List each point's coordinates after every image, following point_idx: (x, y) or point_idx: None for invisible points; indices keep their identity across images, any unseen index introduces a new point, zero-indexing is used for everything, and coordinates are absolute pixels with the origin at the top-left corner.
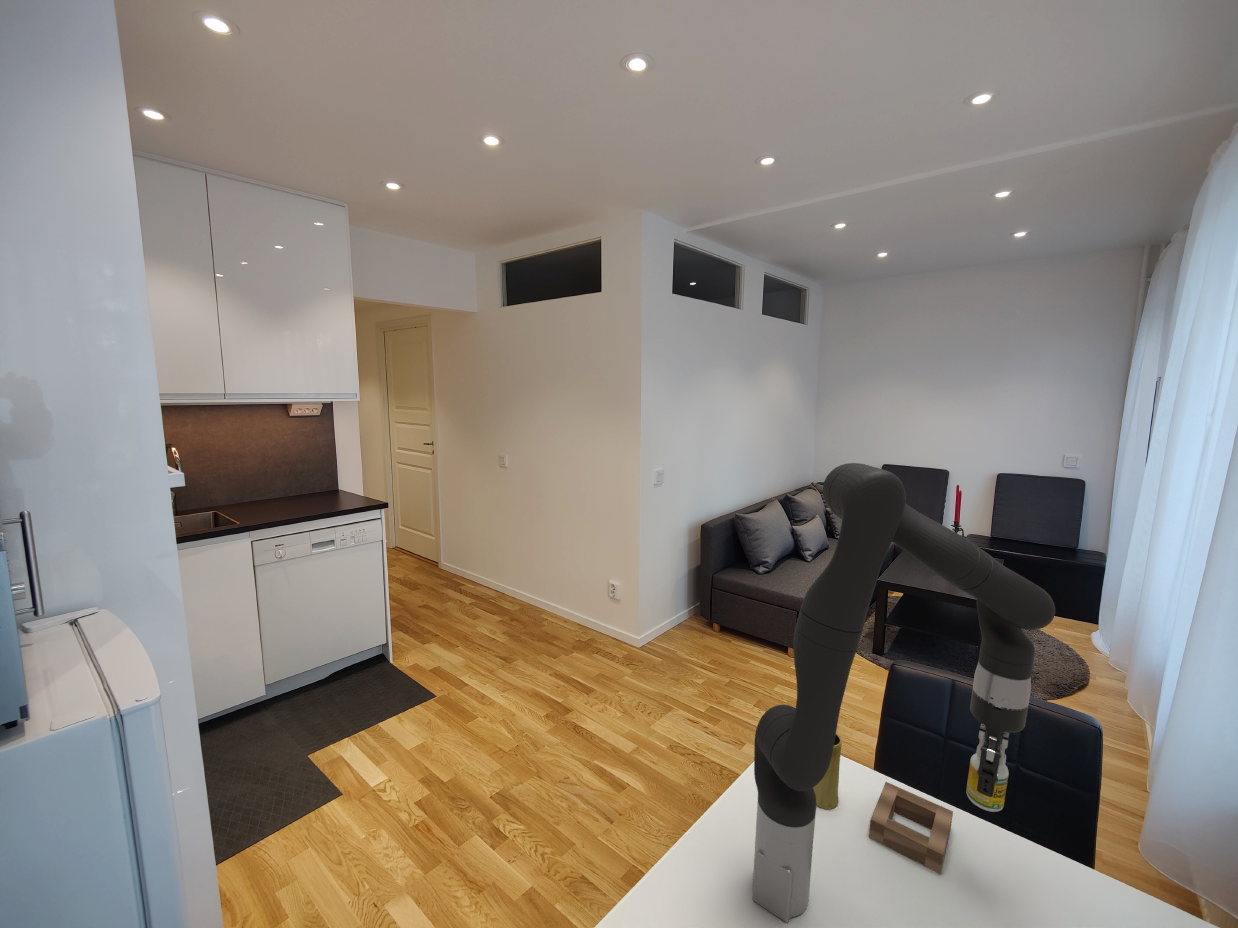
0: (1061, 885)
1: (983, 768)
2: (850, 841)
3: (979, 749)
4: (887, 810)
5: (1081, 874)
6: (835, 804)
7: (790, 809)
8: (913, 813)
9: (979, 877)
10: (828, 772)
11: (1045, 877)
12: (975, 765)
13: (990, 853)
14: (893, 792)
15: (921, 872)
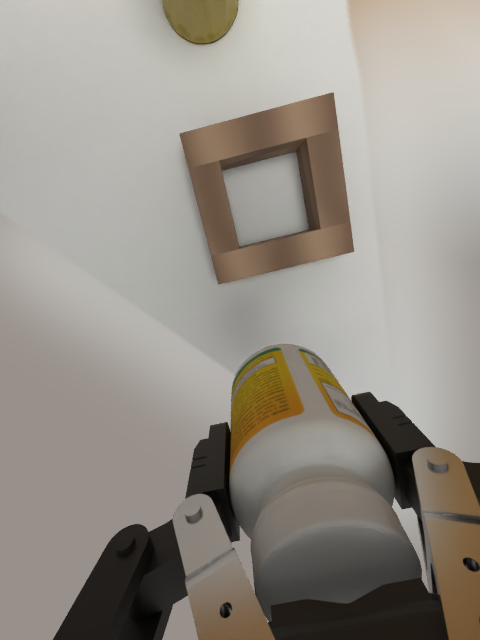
0: (349, 398)
1: (150, 572)
2: (144, 127)
3: (201, 630)
4: (238, 148)
5: None
6: (197, 38)
7: None
8: (306, 187)
9: (267, 320)
10: None
11: (348, 380)
12: (243, 461)
13: (333, 314)
14: (309, 128)
15: (196, 255)
